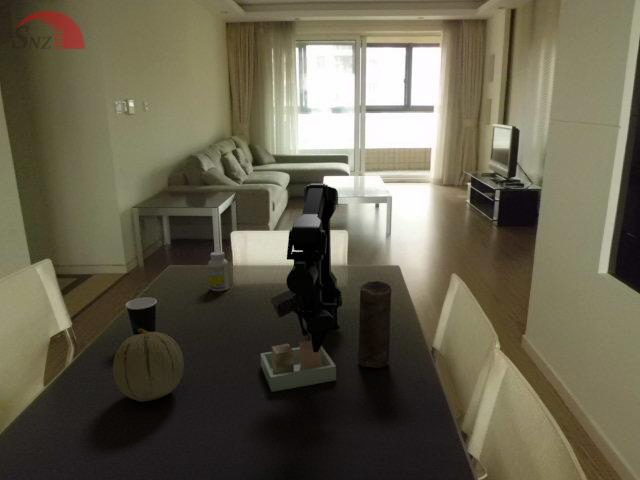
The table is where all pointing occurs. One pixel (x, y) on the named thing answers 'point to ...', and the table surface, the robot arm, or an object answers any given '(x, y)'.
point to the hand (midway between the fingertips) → (310, 343)
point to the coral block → (309, 356)
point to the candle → (374, 324)
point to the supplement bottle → (218, 272)
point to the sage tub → (298, 372)
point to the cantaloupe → (148, 366)
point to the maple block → (282, 359)
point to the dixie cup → (142, 314)
